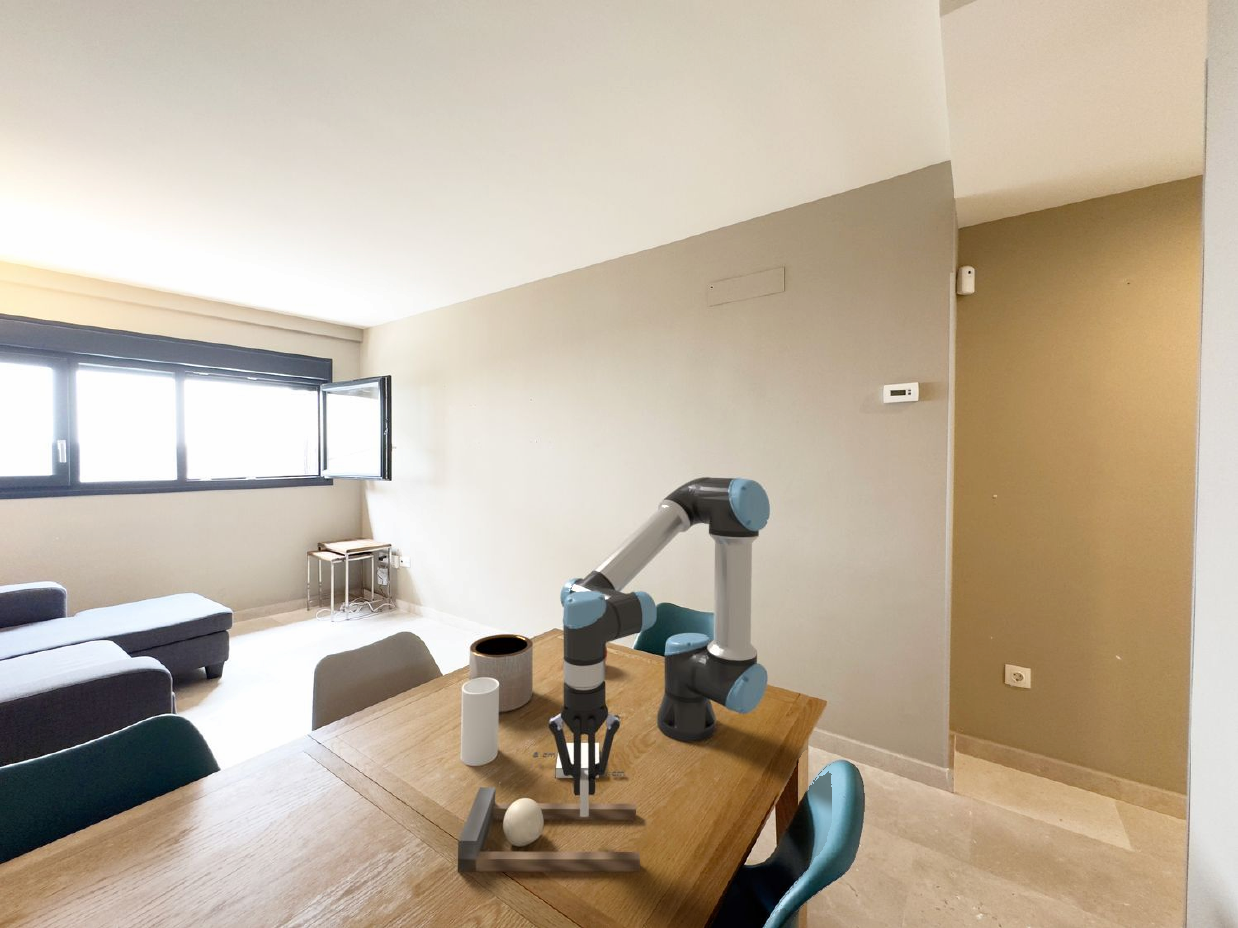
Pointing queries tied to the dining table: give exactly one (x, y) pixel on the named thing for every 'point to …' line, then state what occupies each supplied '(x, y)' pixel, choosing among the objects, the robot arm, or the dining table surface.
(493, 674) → the planter
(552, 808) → the channel
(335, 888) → the dining table surface
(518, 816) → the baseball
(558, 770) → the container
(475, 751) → the cup
